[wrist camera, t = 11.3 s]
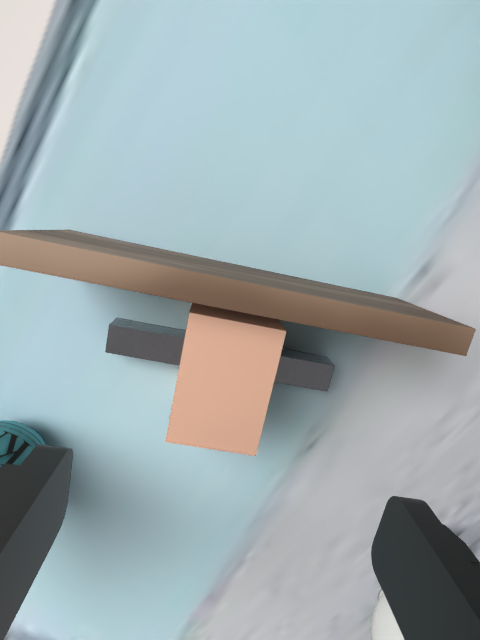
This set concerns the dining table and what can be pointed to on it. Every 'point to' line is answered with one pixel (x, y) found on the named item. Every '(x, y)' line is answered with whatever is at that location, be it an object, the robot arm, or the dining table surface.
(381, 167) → the dining table surface
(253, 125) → the dining table surface
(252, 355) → the cabinet block
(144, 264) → the wall board
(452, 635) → the robot arm
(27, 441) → the beverage bottle
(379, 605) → the lidded jar
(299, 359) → the rail
